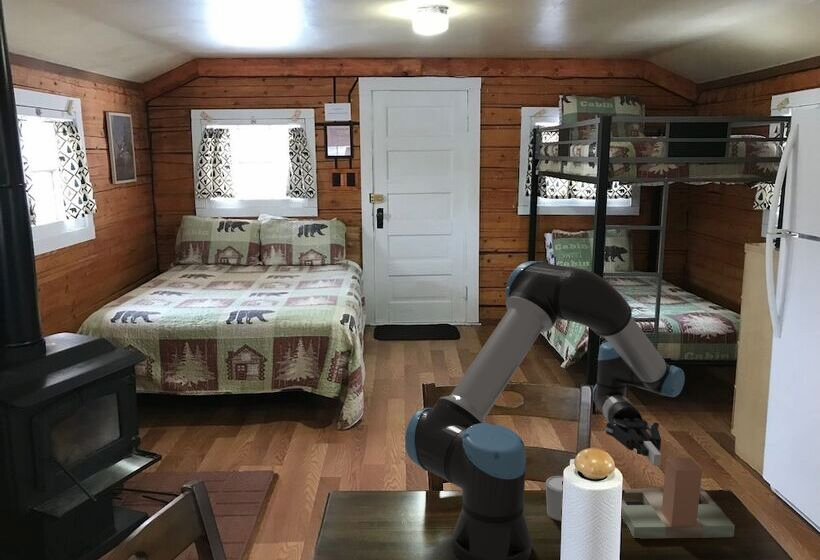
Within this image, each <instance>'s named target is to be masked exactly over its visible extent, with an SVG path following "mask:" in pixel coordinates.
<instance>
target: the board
mask: <svg viewBox="0 0 820 560" xmlns="http://www.w3.org/2000/svg"><path fill="white" fill-rule="evenodd" d="M622 489H623V490H624V491H625V493H624V496H623V500H622V518H621V520H622V519H623V520H622V522H623V523H624V522H625V523H624V525H625V524H626V525H627V527H628V528H629V530H630V532H631V533H630V532H629V533H630V535H631V534H632V535H631V537H632V536H633V537H634V538H640V539H686V538H687V539H689V538H690V539H695V538H700V539H701V538H705V539H706V538H734V535H735V526H736V525H735V524H734V523H733V521H731V519H730V518H729V517H728V516H727V515H726V513H725V512H723V510H722V509H721V507H720V506H718V504H717V503H716V502H715V501H714V500H713V499H712V497H711V496H710V495H709V494H708V493H707V492H706V490H705V489H704V488H702V487H700V495H699V505H698V514H697V524H696V526H671V525H670V524H669V522H668V521H667V520H666V518H665V517H664V515H663V514H662V501H663V490H664V487H663V488H622ZM626 525H625V526H626ZM627 527H626V528H627ZM628 528H627V529H628ZM629 530H628V531H629ZM633 537H632V538H633ZM634 538H633V539H634Z"/></svg>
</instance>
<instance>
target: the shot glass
mask: <svg viewBox="0 0 820 560" xmlns="http://www.w3.org/2000/svg"><path fill="white" fill-rule="evenodd" d="M562 481H563V475H553V476H550V477H548V478H547V479H546V481H545V495H546V496H545V499H546V514H547V515H548V516H549V517H550V519H553V520H555V521H559V522H562V521H561V509H562Z"/></svg>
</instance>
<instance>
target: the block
mask: <svg viewBox="0 0 820 560" xmlns="http://www.w3.org/2000/svg"><path fill="white" fill-rule="evenodd" d="M664 468H665V469H664V470H665V471H664V481H663V488H664V490H663V501H662V514H663V515H664V517H665V518H666V520H667V521H668V522H669V524H670V525H671V526H696V524H697V514H698V505H699V495H700V488H701V485H702V484H701V483H702V472H703V470H702V468H701V467H700V466H698V465H697V463H696V462H695V460H693V459H692V458H691V457H689V458H688V457H681V458H680V457H677V458H675V457H674V458H673V457H671V458H668V457H667V458H666V459H665V467H664Z"/></svg>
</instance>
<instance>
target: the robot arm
mask: <svg viewBox="0 0 820 560" xmlns="http://www.w3.org/2000/svg"><path fill="white" fill-rule="evenodd" d="M505 296H506V301H505V306H506V312H505V314H504V316H503V317H502V318H501V320H500V321H499V323H497V326H496V328H495V329H494V330H493V332H492V333H491V335H490V336H489V338H488V339H487V340H486V342H485V344H483V346H482V348H481V349H480V350H479V352H478V353H477V356H475V358H474V360H473V361H472V363H471V364H470V366H469V367H468V368H467V370H466V371H465V373H464V375H463V376H462V377H461V379H460V380H459V382H458V383H457V385H456V386H455V388H454V389H453V391H452V392H451V393H450V395H448V396H447V395H446V396H441V397H439V398H438V400H437V401H436V403H435V404H434V405H433V407H424V408H422V409H418V410H417V411H416V412H414V414H413V415H412V416H411V418H410V420H409V421H408V424H407V426H406V429H405V430H406V431H405V434H404V440H405V444H404V445H405V451H406V454H407V456H408V458H409V459H410V460H411V461H412V462H413V463H414V464H415V465H417V466H419V467H421V468H422V470H424V471H427V472H430V473H432V474H434V475H436V476H438V477H439V478H442V479H443V480H445V481H446V482H449V483H451V484H452V485H454V486H455V487H458V488H460V489H461V491H462V507H461V510H460V513H459V516H458V519H457V522H456V524H455V527H454V529H453V533H452V548H453V551H454V554H455V555H456V556H457V557H458V558H459V560H529V558H530V556H531V554H532V541H533V539H532V535H531V532H530V530H529V526H528V523H527V520H526V516H525V514H524V507H525V505H524V504H525V490H526V489H525V488H526V487H525V486H526V470H527V458H526V447H525V443H524V440H523V439H522V438H521V437H520V435H519V434H518V433H517V432H515V431H514V430H512V429H510V428H509V427H506V426H504V425H502V424H497V423H495V424H491V423H489V422H486V421H485V419H486V418H487V416H488V414H489V413H490V411H491V409H492V408H493V407H494V405H495V403H496V402H497V401H498V399H499V397H500V396H501V394H502V392H503V391H504V390H505V388H506V387H507V385H508V383H509V382H510V381H511V379H512V378H513V376H514V374H515V373H516V372H517V370H518V368H519V366H520V365H521V364H522V362H523V360H524V359H525V357H526V355H527V354H528V353H529V351H530V349H531V348H532V347H533V345H534V343H535V341H536V340H537V339H538V337H539V335H540V334H541V333H543V332H545V333H546V332H548V331H549V332H550V331H551V329H552V328H553V327H554V325H555V324H556V322H557V320H563V321H566V322H568V321H569V322H573V323H577V324H579V325H580V324H581V325H582V326H586V327H587V328H589V329H591V330H592V332H593V333H594V334H596V335H597V336H601V337H604V338H605V340H606V342H603V343H601V344H600V346H599V349H598V350H599V352H598V357H597V376H596V377H597V378H596V379H597V380H596V384H594V386H593V387H592V389H593V399H592V400H593V402H594V405H595V406H596V408H597V409H598V410H599V411H600V412H601V414H602V415H603V417H604V418H605V419H606V420H607V423H606V425H605V426H606V428H605V434H606V435H609V436H610V437H612V438H614V439H615V440H617V442H619V443H620V444H622V445H623V446H624V447H625V448H626V449H627V450H629V451H634V449H635V450H636V454H637V455H642V456H643V457H646V458H647V460H648V461H649V463H651V464H652V466H653V467H661V461H662V453H661V452H660V450H661V445H662V437H661V434H660V431H659V425H660V424H659V422H653V424H652V423H650V424H649V423H648V421H647V420H644V419H643V417H642V414H641V413H640V412H639V410H638V409H637V408H636V407H635V405H633V403H632V402H631V401H630V400H629V398H627V396H626V394H627V385H629V386H632V387H635V388H638V389H642V390H645V391H649V392H652V393H655V394H658V395H660V396H666V397H671V398H675V397H677V396H678V395H680V394H681V392H682V391H683V388H684V386H685V379H686V378H685V377H686V376H685V372H684V371H683V369H682V368H680V367H678V366H675V365H673V364H672V365H671V364H667V362H666V361H665V359H664V358H663V356H662V355H661V354H660V353H659V351H658V350H657V349H656V348H655V346H654V345H653V343H652V342H651V340H650V339H649V338H648V336H647V335H646V334H645V332H644V331H643V329H642V328H641V327H640V325H639V324H638V323H637V322H636V320H635V318H633V312H632V308H631V306H630V304H629V303H628V301H627V300H626V299H625V298H624V297H623V295H622V294H621V293H620V292H619V291H618V290H617V289H616V288H615V287H614V286H613V285H612V284H611V283H609V282H608V281H607V280H606V279H604V278H603V277H601V276H600V275H598V274H596V273H594V272H592V271H590V270H588V269H584V268H576V267H572V266H566V265H565V266H564V265H559V264H553V263H549V262H547V261H544V260H543V261H540V260H539V261H536V260H535V261H534V260H530V261H526V262H523V263H521V264H519V265H518V266H517V267H516V268H515V269H513V271H512V272H511V274H510V276H509V277H508V279H507V287H506V288H505ZM647 430H648V431H649V432H648V431H647Z"/></svg>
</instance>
